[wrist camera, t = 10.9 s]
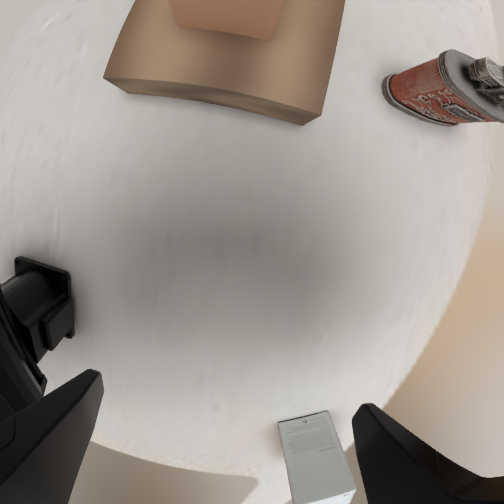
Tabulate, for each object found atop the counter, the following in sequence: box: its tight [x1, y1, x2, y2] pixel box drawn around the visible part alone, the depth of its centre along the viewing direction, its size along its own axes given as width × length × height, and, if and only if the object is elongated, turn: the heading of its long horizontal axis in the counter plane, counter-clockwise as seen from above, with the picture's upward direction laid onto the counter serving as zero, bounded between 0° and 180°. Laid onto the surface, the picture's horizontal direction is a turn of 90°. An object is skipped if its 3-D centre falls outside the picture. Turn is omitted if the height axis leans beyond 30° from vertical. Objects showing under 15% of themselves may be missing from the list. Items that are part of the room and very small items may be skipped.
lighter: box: [382, 49, 504, 126], centre depth 11 cm, size 8×3×10 cm, turn 87°
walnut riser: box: [103, 0, 345, 125], centre depth 12 cm, size 12×12×4 cm
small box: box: [278, 411, 357, 504], centre depth 21 cm, size 8×6×10 cm
